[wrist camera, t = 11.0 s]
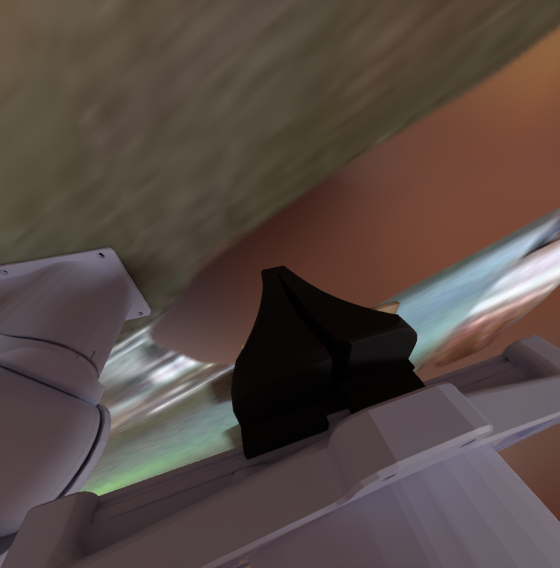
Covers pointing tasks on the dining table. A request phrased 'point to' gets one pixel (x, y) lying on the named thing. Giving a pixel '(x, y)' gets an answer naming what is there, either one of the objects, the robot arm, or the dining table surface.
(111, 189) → the dining table surface
